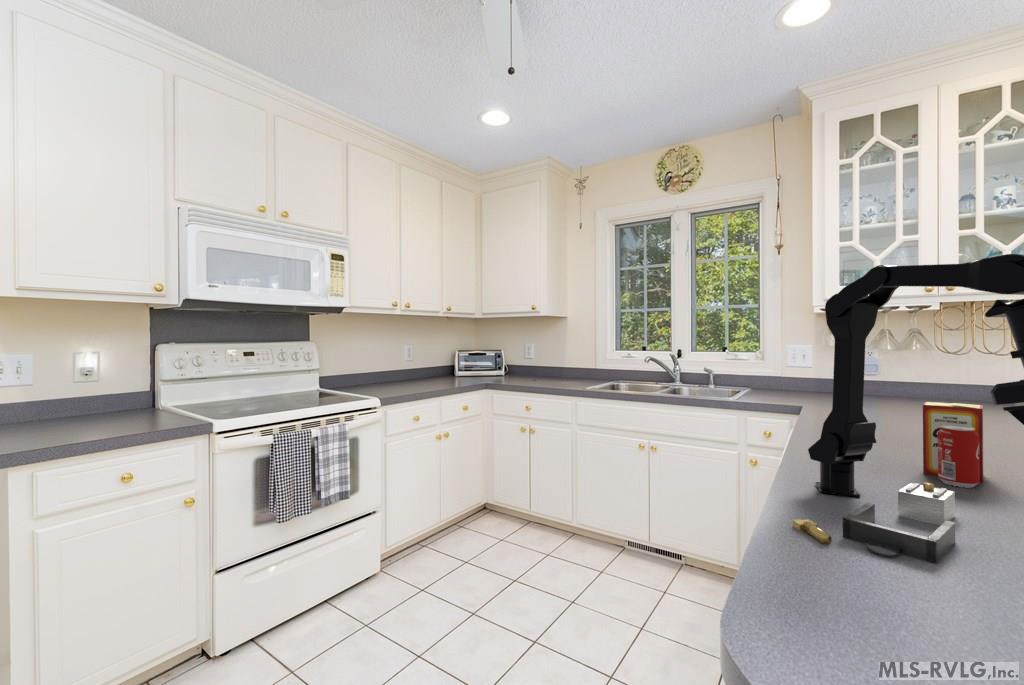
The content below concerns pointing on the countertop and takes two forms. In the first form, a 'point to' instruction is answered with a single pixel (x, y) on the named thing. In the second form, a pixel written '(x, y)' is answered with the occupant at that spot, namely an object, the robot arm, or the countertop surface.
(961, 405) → the baking soda box
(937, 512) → the block
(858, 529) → the bracket
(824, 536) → the gold elongated piece
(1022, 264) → the robot arm
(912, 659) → the countertop surface
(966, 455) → the beverage can
